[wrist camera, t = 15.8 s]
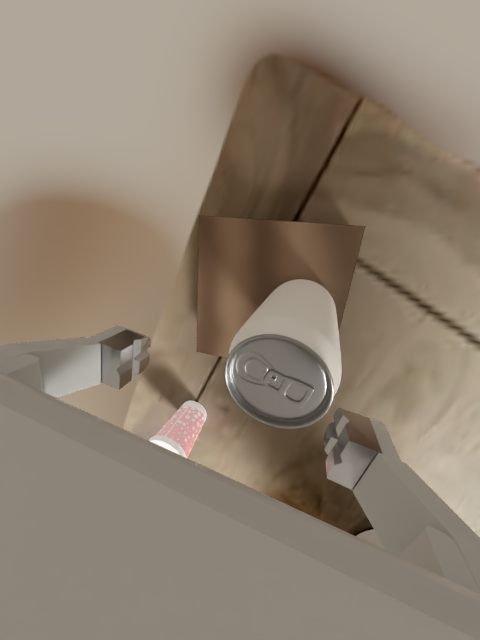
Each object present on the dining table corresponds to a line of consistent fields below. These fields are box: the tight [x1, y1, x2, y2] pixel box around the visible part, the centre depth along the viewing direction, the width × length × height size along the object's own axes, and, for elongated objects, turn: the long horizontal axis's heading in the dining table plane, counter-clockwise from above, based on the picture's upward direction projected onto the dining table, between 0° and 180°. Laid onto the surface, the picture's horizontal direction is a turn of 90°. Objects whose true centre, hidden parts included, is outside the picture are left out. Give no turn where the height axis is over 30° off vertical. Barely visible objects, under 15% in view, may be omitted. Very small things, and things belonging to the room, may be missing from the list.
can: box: [224, 279, 342, 429], centre depth 17 cm, size 6×6×12 cm
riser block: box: [197, 216, 365, 358], centre depth 25 cm, size 15×15×6 cm
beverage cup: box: [148, 401, 207, 458], centre depth 31 cm, size 6×6×14 cm
